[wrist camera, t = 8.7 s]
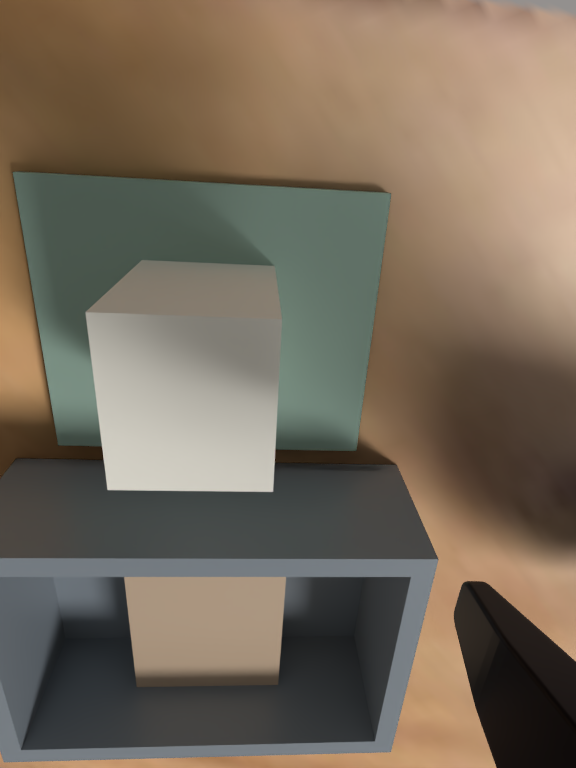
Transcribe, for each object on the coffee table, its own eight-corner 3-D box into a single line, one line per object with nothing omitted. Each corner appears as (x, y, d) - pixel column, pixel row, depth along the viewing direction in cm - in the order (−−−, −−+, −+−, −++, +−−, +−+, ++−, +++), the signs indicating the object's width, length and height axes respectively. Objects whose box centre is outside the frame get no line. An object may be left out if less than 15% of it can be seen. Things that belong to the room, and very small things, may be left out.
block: (274, 265, 17) (282, 319, 12) (269, 395, 19) (272, 491, 14) (141, 259, 17) (85, 312, 11) (151, 392, 19) (107, 490, 13)
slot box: (396, 464, 21) (438, 559, 16) (365, 637, 26) (390, 752, 21) (16, 458, 20) (-63, 558, 15) (54, 640, 25) (4, 762, 20)
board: (387, 192, 17) (391, 193, 16) (354, 444, 21) (356, 450, 20) (19, 171, 16) (12, 171, 15) (62, 438, 20) (58, 445, 20)
